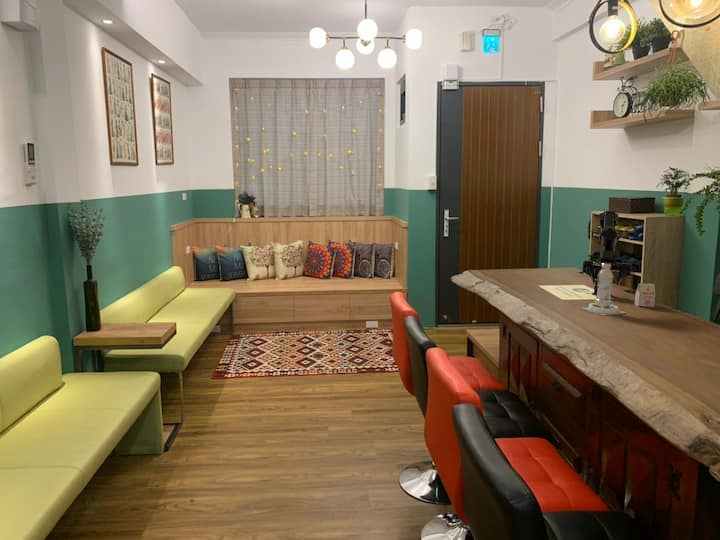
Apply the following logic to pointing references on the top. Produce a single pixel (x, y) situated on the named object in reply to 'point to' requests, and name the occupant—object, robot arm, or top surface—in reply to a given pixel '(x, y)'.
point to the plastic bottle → (604, 286)
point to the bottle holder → (603, 310)
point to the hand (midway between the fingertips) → (605, 284)
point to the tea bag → (645, 295)
